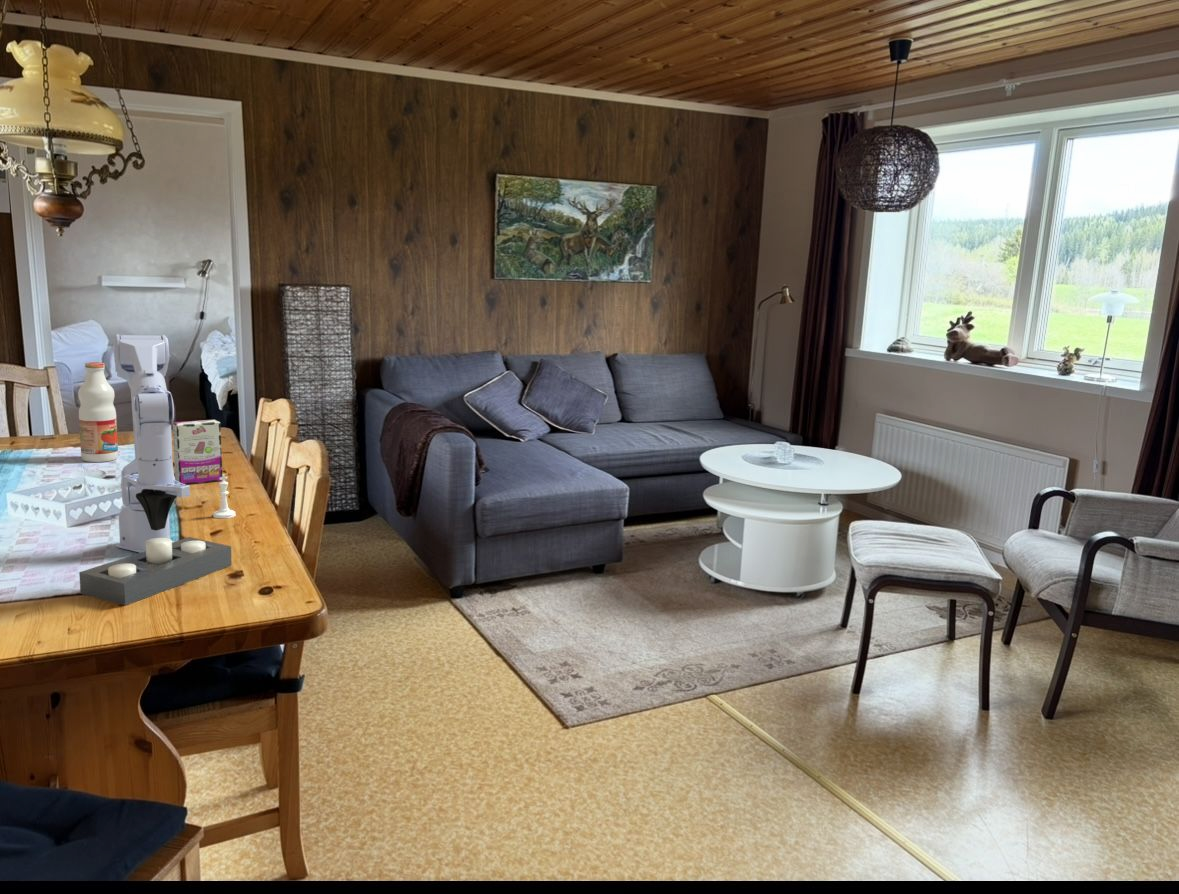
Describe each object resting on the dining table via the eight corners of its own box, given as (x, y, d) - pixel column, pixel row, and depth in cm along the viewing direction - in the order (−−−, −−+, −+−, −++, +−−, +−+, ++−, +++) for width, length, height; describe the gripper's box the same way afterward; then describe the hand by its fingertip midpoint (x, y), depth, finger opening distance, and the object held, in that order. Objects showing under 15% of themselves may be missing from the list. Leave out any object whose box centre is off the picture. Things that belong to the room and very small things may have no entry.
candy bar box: (217, 477, 239) (215, 418, 236) (223, 481, 235) (221, 422, 232) (174, 481, 232) (171, 421, 229) (179, 485, 228) (176, 424, 225)
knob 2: (176, 566, 170) (175, 545, 169) (194, 560, 174) (193, 539, 173) (193, 570, 168) (192, 548, 167) (211, 564, 172) (210, 542, 171)
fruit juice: (87, 455, 254) (81, 360, 249) (122, 455, 257) (117, 361, 251) (76, 462, 246) (70, 364, 240) (113, 462, 248) (108, 365, 242)
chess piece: (209, 514, 205) (208, 473, 203) (230, 511, 208) (229, 471, 206) (218, 519, 201) (217, 478, 199) (239, 516, 205) (238, 475, 203)
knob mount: (80, 593, 154) (79, 572, 154) (190, 555, 177) (189, 537, 176) (125, 605, 150) (124, 583, 150) (231, 565, 173) (231, 546, 172)
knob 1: (103, 592, 155) (102, 568, 154) (125, 585, 159) (123, 561, 158) (121, 597, 153) (120, 573, 152) (142, 589, 157) (141, 566, 156)
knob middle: (141, 565, 162) (140, 542, 161) (160, 558, 166) (159, 536, 165) (158, 569, 160) (157, 546, 159) (177, 562, 164) (177, 540, 163)
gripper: (107, 456, 158) (111, 527, 160) (166, 467, 153) (169, 540, 155) (140, 450, 164) (143, 518, 167) (198, 460, 159) (200, 531, 162)
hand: (158, 528), depth 162 cm, fingers closed
